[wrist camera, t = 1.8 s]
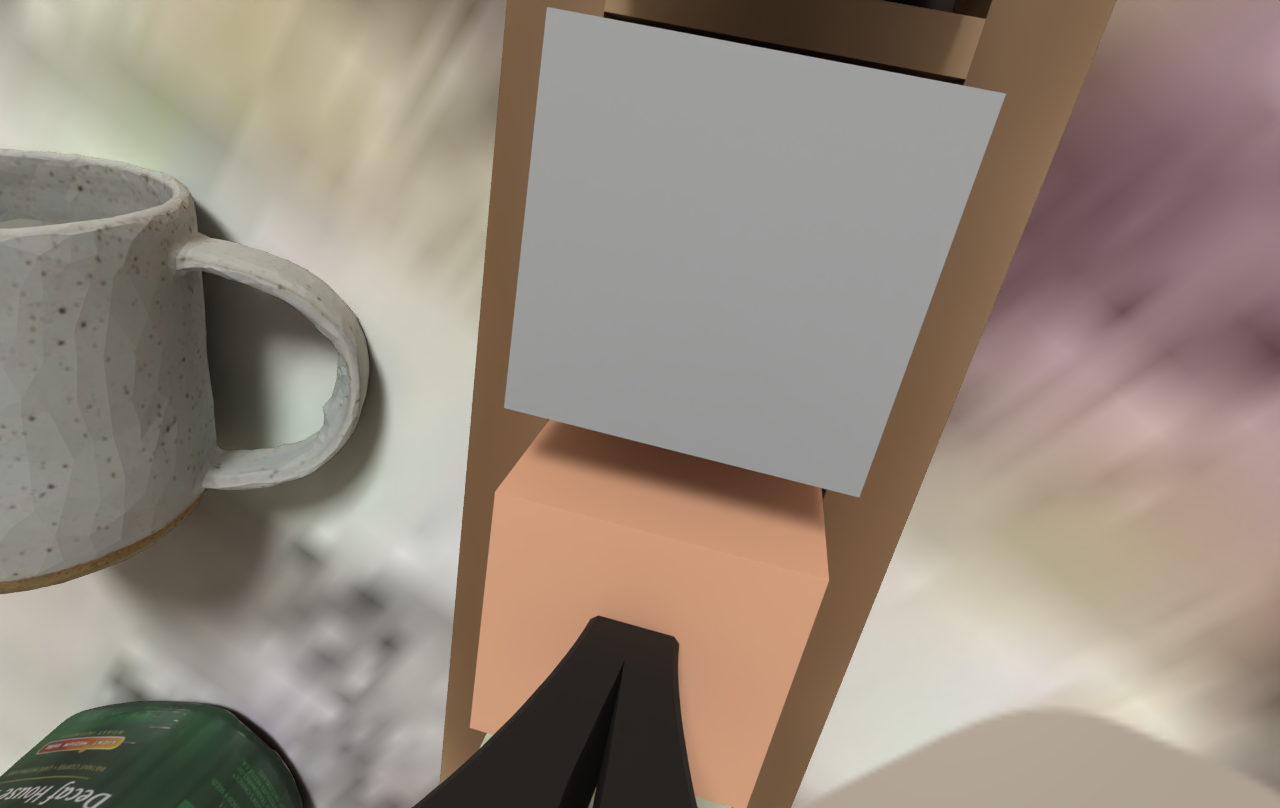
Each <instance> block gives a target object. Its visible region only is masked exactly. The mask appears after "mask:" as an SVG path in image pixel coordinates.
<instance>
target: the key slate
mask: <svg viewBox="0 0 1280 808" xmlns="http://www.w3.org/2000/svg"><path fill="white" fill-rule="evenodd" d="M1005 95H1006V94H1005V93H1000V92H995V91H989V90H984V89H979V88H974V87H968V86H963V85H958V84H952V83H947V82H942V81H937V80H931V79H926V78H921V77H915V76H910V75H905V74H899V73H894V72H889V71H884V70H878V69H873V68H868V67H862V66H857V65H852V64H847V63H841V62H836V61H831V60H825V59H820V58H815V57H809V56H804V55H799V54H794V53H788V52H783V51H778V50H772V49H767V48H762V47H757V46H751V45H746V44H741V43H735V42H730V41H725V40H719V39H714V38H709V37H704V36H698V35H693V34H688V33H682V32H677V31H672V30H667V29H661V28H656V27H651V26H645V25H640V24H635V23H629V22H624V21H619V20H614V19H608V18H603V17H598V16H592V15H587V14H582V13H577V12H571V11H566V10H561V9H555V8H550V7H547V11H546V20H545V30H544V39H543V48H542V58H541V67H540V76H539V86H538V95H537V104H536V114H535V123H534V132H533V142H532V151H531V160H530V170H529V179H528V188H527V198H526V207H525V216H524V226H523V235H522V244H521V254H520V263H519V272H518V282H517V291H516V301H515V310H514V319H513V329H512V338H511V347H510V357H509V366H508V375H507V385H506V394H505V403H504V408H506V409H510V410H514V411H518V412H522V413H526V414H530V415H534V416H538V417H542V418H546V419H550V420H554V421H558V422H562V423H566V424H570V425H574V426H578V427H582V428H586V429H590V430H594V431H598V432H602V433H606V434H610V435H613V436H617V437H621V438H625V439H629V440H633V441H637V442H641V443H645V444H649V445H653V446H657V447H661V448H665V449H669V450H673V451H677V452H681V453H685V454H689V455H693V456H697V457H701V458H705V459H709V460H713V461H717V462H721V463H725V464H728V465H732V466H736V467H740V468H744V469H748V470H752V471H756V472H760V473H764V474H768V475H772V476H776V477H780V478H784V479H788V480H792V481H796V482H800V483H804V484H808V485H812V486H816V487H820V488H824V489H828V490H832V491H836V492H840V493H843V494H847V495H851V496H855V497H860V494H861V492H862V489H863V486H864V483H865V481H866V478H867V475H868V472H869V470H870V467H871V464H872V461H873V459H874V456H875V453H876V450H877V447H878V445H879V442H880V439H881V436H882V434H883V431H884V428H885V425H886V423H887V420H888V417H889V414H890V412H891V409H892V406H893V403H894V401H895V398H896V395H897V392H898V390H899V387H900V384H901V381H902V379H903V376H904V373H905V370H906V368H907V365H908V362H909V359H910V357H911V354H912V351H913V348H914V346H915V343H916V340H917V337H918V335H919V332H920V329H921V326H922V324H923V321H924V318H925V315H926V313H927V310H928V307H929V304H930V302H931V299H932V296H933V293H934V291H935V288H936V285H937V282H938V280H939V277H940V274H941V271H942V269H943V266H944V263H945V260H946V258H947V255H948V252H949V249H950V247H951V244H952V241H953V238H954V236H955V233H956V230H957V227H958V225H959V222H960V219H961V216H962V214H963V211H964V208H965V205H966V203H967V200H968V197H969V194H970V192H971V189H972V186H973V183H974V181H975V178H976V175H977V172H978V170H979V167H980V164H981V161H982V159H983V156H984V153H985V150H986V148H987V145H988V142H989V139H990V137H991V134H992V131H993V128H994V126H995V123H996V120H997V117H998V115H999V112H1000V109H1001V106H1002V104H1003V101H1004V98H1005Z"/></svg>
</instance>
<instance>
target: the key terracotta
mask: <svg viewBox="0 0 1280 808" xmlns="http://www.w3.org/2000/svg"><path fill="white" fill-rule="evenodd" d="M828 582H829V572H828V560H827V548H826V536H825V524H824V512H823V500H822V488H820V487H816V486H812V485H808V484H804V483H800V482H796V481H792V480H788V479H784V478H780V477H776V476H772V475H768V474H764V473H760V472H756V471H752V470H748V469H744V468H740V467H736V466H732V465H728V464H725V463H721V462H717V461H713V460H709V459H705V458H701V457H697V456H693V455H689V454H685V453H681V452H677V451H673V450H669V449H665V448H661V447H657V446H653V445H649V444H645V443H641V442H637V441H633V440H629V439H625V438H621V437H617V436H613V435H610V434H606V433H602V432H598V431H594V430H590V429H586V428H582V427H578V426H574V425H570V424H566V423H562V422H558V421H554V420H549V421H548V423H547V424H546V425H545V427H544V428H543V429H542V431H541V432H540V433H539V434H538V436H537V437H536V438H535V440H534V441H533V442H532V444H531V445H530V446H529V448H528V449H527V450H526V452H525V453H524V454H523V456H522V457H521V458H520V460H519V461H518V462H517V463H516V465H515V466H514V467H513V469H512V470H511V471H510V473H509V474H508V475H507V477H506V478H505V479H504V481H503V482H502V483H501V485H500V486H499V487H498V488H497V490H496V491H495V497H494V506H493V515H492V525H491V534H490V543H489V553H488V562H487V571H486V581H485V590H484V599H483V609H482V618H481V627H480V637H479V646H478V655H477V665H476V674H475V683H474V693H473V702H472V711H471V721H470V728H472V729H475V730H479V731H482V732H485V733H489V734H492V735H494V734H495V733H496V732H497V731H498V730H499V729H500V728H501V727H502V726H503V725H504V724H505V723H506V722H507V721H508V720H509V719H510V718H511V717H512V716H513V715H514V714H515V713H516V712H517V711H518V710H519V709H520V707H521V706H522V705H523V704H524V703H525V702H526V701H527V700H528V699H529V697H530V696H531V695H532V694H533V693H534V692H535V691H536V690H537V688H538V687H539V686H540V685H541V684H542V683H543V682H544V681H545V679H546V678H547V677H548V676H549V675H550V674H551V673H552V671H553V670H554V669H555V668H556V666H557V665H558V664H559V663H560V661H561V660H562V659H563V658H564V656H565V655H566V654H567V653H568V651H569V650H570V649H571V647H572V646H573V645H574V643H575V642H576V640H577V639H578V637H579V636H580V635H581V633H582V632H583V630H584V629H585V627H586V625H587V623H588V622H589V620H590V619H591V618H593V617H596V616H598V615H599V616H603V617H606V618H610V619H613V620H617V621H621V622H624V623H628V624H631V625H635V626H638V627H642V628H646V629H649V630H653V631H656V632H660V633H663V634H667V635H671V636H674V637H675V638H676V640H677V641H678V643H679V653H678V681H679V695H680V706H681V716H682V724H683V731H684V737H685V744H686V750H687V756H688V762H689V768H690V773H691V779H692V784H693V789H694V794H695V796H696V797H700V798H703V799H706V800H709V801H713V802H716V803H719V804H723V805H726V806H729V807H733V808H747V805H748V802H749V800H750V797H751V794H752V791H753V789H754V786H755V783H756V780H757V778H758V775H759V772H760V769H761V767H762V764H763V761H764V758H765V756H766V753H767V750H768V747H769V745H770V742H771V739H772V736H773V734H774V731H775V728H776V725H777V723H778V720H779V717H780V714H781V712H782V709H783V706H784V703H785V701H786V698H787V695H788V692H789V690H790V687H791V684H792V681H793V679H794V676H795V673H796V670H797V668H798V665H799V662H800V659H801V657H802V654H803V651H804V648H805V646H806V643H807V640H808V637H809V635H810V632H811V629H812V626H813V624H814V621H815V618H816V615H817V613H818V610H819V607H820V604H821V602H822V599H823V596H824V593H825V591H826V588H827V585H828Z"/></svg>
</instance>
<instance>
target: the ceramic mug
mask: <svg viewBox="0 0 1280 808" xmlns="http://www.w3.org/2000/svg"><path fill="white" fill-rule="evenodd" d="M202 271H204V272H208V273H212V274H216V275H219V276H222V277H224V278H226V279H229V280H232V281H236V282H240V283H244V284H246V285H249V286H251V287H254V288H256V289H259V290H261V291H263V292H266V293H268V294H271V295H273V296H275V297H278V298H280V299H282V300H284V301H285V302H287V303H288V304H290V305H291V306H292V307H293V308H295V309H296V310H297V311H299V312H300V313H301V314H302V315H304V316H305V317H306V318H307V319H309V320H310V321H311V322H312V323H314V325H315V327H316V328H317V329H318V330H319V331H320V332H321V333H322V334H323V335H324V336H326V337H327V338H328V339H330V340H331V341H332V343H333V345H334V347H335V348H336V349H337V351H338V352H339V359H338V368H337V380H336V383H335V387H334V391H333V394H332V397H331V398H330V399H329V400H328V401H327V403H326V404H325V405H324V406H323V411H324V425H323V427H322V428H321V430H320V431H318V432H316V433H315V434H313V435H311V436H310V437H308V438H307V439H305V440H303V441H299V442H296V443H292V444H284V445H281V446H279V447H277V448H263V449H255V450H226V449H220V448H219V447H218V446H217V435H216V429H215V417H214V401H213V394H212V388H211V381H210V374H209V367H208V359H207V349H206V326H205V304H204V293H203V281H202ZM369 371H370V368H369V356H368V349H367V344H366V338H365V336H364V334H363V331H362V329H361V327H360V325H359V323H358V320H357V318H356V316H355V315H354V313H353V312H352V310H351V309H350V308H349V307H348V305H347V304H346V303H345V302H344V301H343V300H342V299H341V298H340V297H339V296H338V295H337V294H336V293H335V292H334V291H333V290H332V289H331V288H330V287H329V286H328V285H327V284H326V283H325V282H324V281H322V280H321V279H320V278H318V277H317V276H315V275H314V274H312V273H311V272H309V271H308V270H306V269H304V268H302V267H300V266H298V265H296V264H294V263H292V262H290V261H288V260H285V259H282V258H279V257H277V256H274V255H272V254H269V253H267V252H264V251H261V250H258V249H254V248H251V247H248V246H244V245H241V244H237V243H234V242H231V241H227V240H220V239H214V238H210V237H208V236H206V235H203V234H201V233H199V232H198V226H197V217H196V211H195V205H194V200H193V198H192V195H191V193H190V192H189V190H188V188H187V187H186V186H184V185H183V184H182V183H180V182H179V181H178V180H176V179H174V178H172V177H170V176H168V175H166V174H163V173H159V172H155V171H152V170H147V169H143V168H140V167H138V166H135V165H132V164H129V163H125V162H119V161H113V160H106V159H100V158H93V157H87V156H82V155H78V154H60V153H56V152H41V151H22V150H13V149H0V594H6V593H14V592H21V591H28V590H33V589H38V588H42V587H47V586H51V585H56V584H60V583H64V582H67V581H70V580H73V579H76V578H79V577H82V576H85V575H88V574H91V573H94V572H96V571H99V570H101V569H104V568H106V567H109V566H111V565H114V564H116V563H119V562H121V561H124V560H126V559H128V558H130V557H132V556H133V555H135V554H137V553H139V552H140V551H142V550H144V549H146V548H147V547H149V546H151V545H153V544H154V543H156V542H157V541H158V540H160V539H161V538H162V537H163V536H165V535H166V534H167V533H168V532H170V531H171V530H172V529H173V528H174V527H176V526H177V525H178V524H180V523H181V522H182V521H183V520H185V519H186V517H187V516H188V515H189V514H190V513H191V512H192V511H193V510H194V508H195V507H196V506H197V505H198V504H199V502H200V500H201V498H202V496H203V494H204V493H205V491H206V489H207V488H213V489H219V490H249V489H254V488H265V487H273V486H276V485H279V484H283V483H286V482H289V481H292V480H296V479H300V478H302V477H304V476H306V475H308V474H311V473H312V472H314V471H315V470H316V469H318V468H319V467H320V466H322V465H323V464H324V463H326V462H327V461H328V460H330V459H331V458H332V457H333V456H334V455H335V454H336V453H337V452H338V451H339V450H340V449H341V448H342V447H343V445H344V444H345V443H346V442H347V440H348V439H349V438H350V437H351V435H352V434H353V432H354V430H355V427H356V425H357V422H358V420H359V416H360V413H361V409H362V406H363V403H364V400H365V397H366V394H367V387H368V380H369Z"/></svg>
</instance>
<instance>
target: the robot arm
mask: <svg viewBox="0 0 1280 808" xmlns="http://www.w3.org/2000/svg"><path fill="white" fill-rule="evenodd" d="M678 653H679V643H678V641H677V640H676V638H675V637H674V636H671V635H667V634H663V633H660V632H656V631H653V630H649V629H646V628H642V627H638V626H635V625H631V624H628V623H624V622H621V621H617V620H613V619H610V618H606V617H603V616H599V615H598V616H596V617H593V618H591V619H590V620H589V622H588V623H587V625H586V627H585V629H584V630H583V632H582V633H581V635H580V636H579V637H578V639H577V640H576V642H575V643H574V645H573V646H572V647H571V649H570V650H569V651H568V653H567V654H566V655H565V656H564V658H563V659H562V660H561V661H560V663H559V664H558V665H557V666H556V668H555V669H554V670H553V671H552V673H551V674H550V675H549V676H548V677H547V678H546V679H545V681H544V682H543V683H542V684H541V685H540V686H539V687H538V688H537V690H536V691H535V692H534V693H533V694H532V695H531V696H530V697H529V699H528V700H527V701H526V702H525V703H524V704H523V705H522V706H521V707H520V709H519V710H518V711H517V712H516V713H515V714H514V715H513V716H512V717H511V718H510V719H509V720H508V721H507V722H506V723H505V724H504V725H503V726H502V727H501V728H500V729H499V730H498V731H497V732H496V733H495V734H494V735H493V736H492V737H491V738H490V739H489V740H488V741H487V742H486V743H485V744H484V745H483V746H482V747H481V748H480V749H479V750H478V751H477V752H476V753H474V754H473V755H472V756H471V757H470V758H469V759H468V760H467V761H466V762H465V763H464V764H463V765H461V766H460V767H459V768H458V769H457V770H456V771H455V772H454V773H453V774H451V775H450V776H449V777H448V778H447V779H446V780H445V781H443V782H442V783H441V784H440V785H439V786H438V787H436V788H435V789H434V790H433V791H432V792H430V793H429V794H428V795H427V796H426V797H425V798H423V799H422V800H421V801H420V802H419V803H417V804H416V805H415V806H414V807H412V808H588V807H589V804H590V802H591V799H592V796H593V794H594V791H595V788H596V792H595V797H594V803H593V808H698V807H697V803H696V798H695V794H694V789H693V784H692V779H691V773H690V768H689V762H688V756H687V750H686V744H685V737H684V731H683V724H682V716H681V706H680V695H679V681H678Z"/></svg>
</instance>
